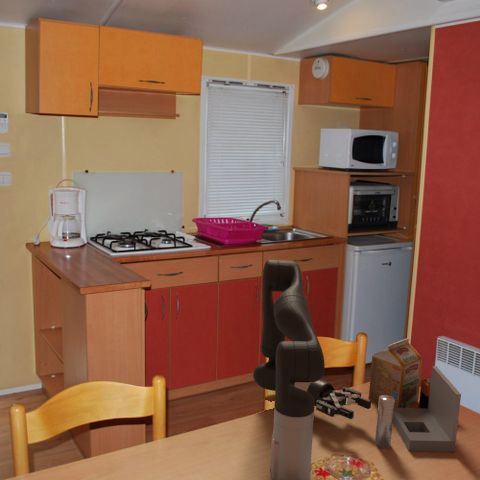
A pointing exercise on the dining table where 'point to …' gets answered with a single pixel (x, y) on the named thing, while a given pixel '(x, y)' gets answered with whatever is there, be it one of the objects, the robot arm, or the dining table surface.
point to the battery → (424, 393)
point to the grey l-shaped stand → (431, 418)
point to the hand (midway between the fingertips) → (361, 410)
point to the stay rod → (384, 421)
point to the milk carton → (396, 374)
